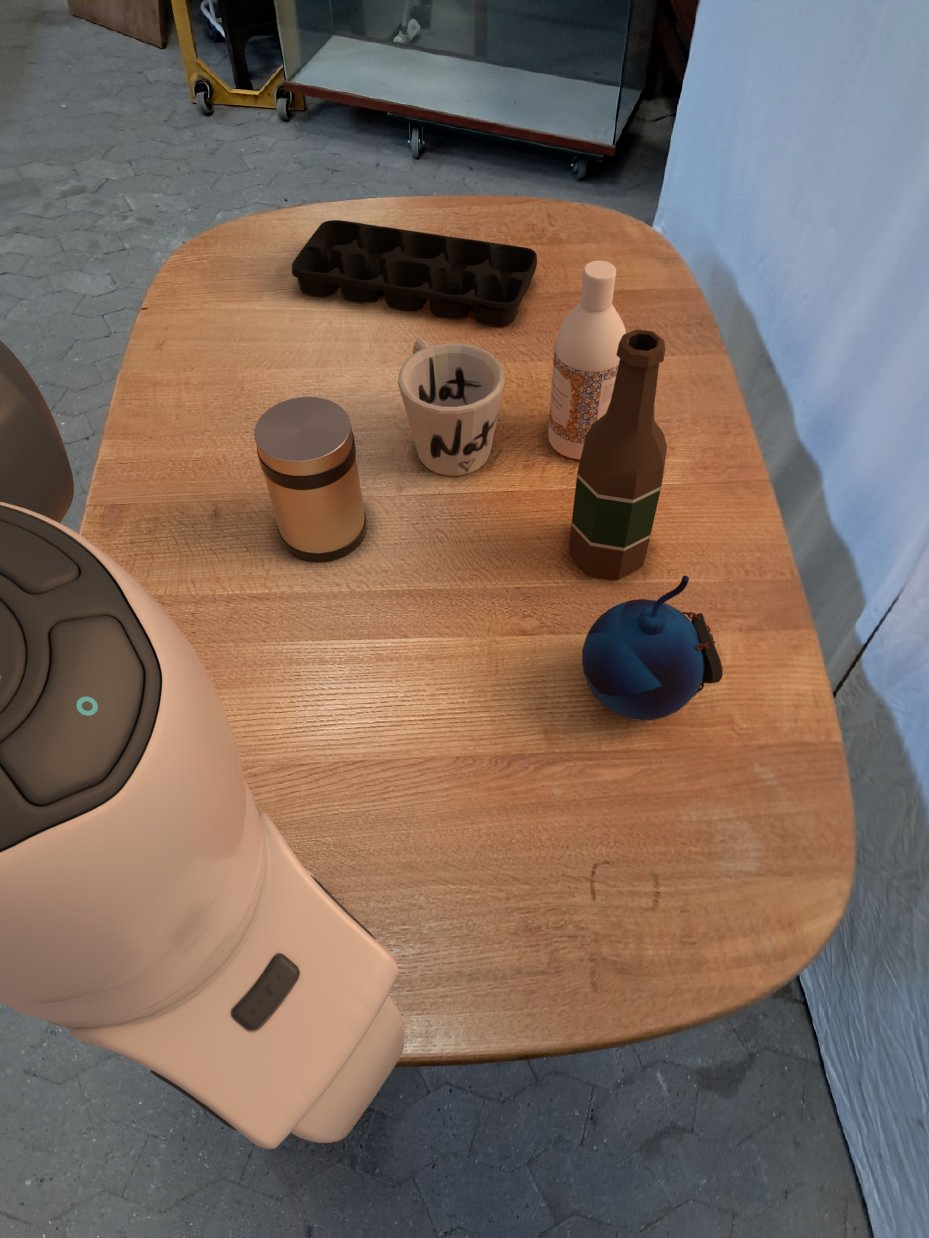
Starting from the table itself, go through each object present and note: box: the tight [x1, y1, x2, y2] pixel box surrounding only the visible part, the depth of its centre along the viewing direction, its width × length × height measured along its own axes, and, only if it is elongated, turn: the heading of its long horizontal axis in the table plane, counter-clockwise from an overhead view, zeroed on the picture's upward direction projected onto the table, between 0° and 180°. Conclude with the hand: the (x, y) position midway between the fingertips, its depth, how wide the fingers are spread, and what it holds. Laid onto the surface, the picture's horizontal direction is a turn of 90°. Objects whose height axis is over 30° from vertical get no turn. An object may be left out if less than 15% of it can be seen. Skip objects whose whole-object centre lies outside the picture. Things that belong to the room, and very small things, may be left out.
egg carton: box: [291, 219, 538, 327], centre depth 112 cm, size 18×30×4 cm, turn 86°
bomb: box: [581, 575, 724, 722], centre depth 72 cm, size 10×11×15 cm
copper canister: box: [253, 396, 368, 563], centre depth 84 cm, size 9×9×13 cm
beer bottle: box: [568, 328, 668, 581], centre depth 77 cm, size 8×8×24 cm
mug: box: [397, 339, 506, 477], centre depth 93 cm, size 10×15×10 cm
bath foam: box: [547, 260, 627, 460], centre depth 88 cm, size 7×7×20 cm
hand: (196, 951), depth 41 cm, fingers open, 8 cm apart
